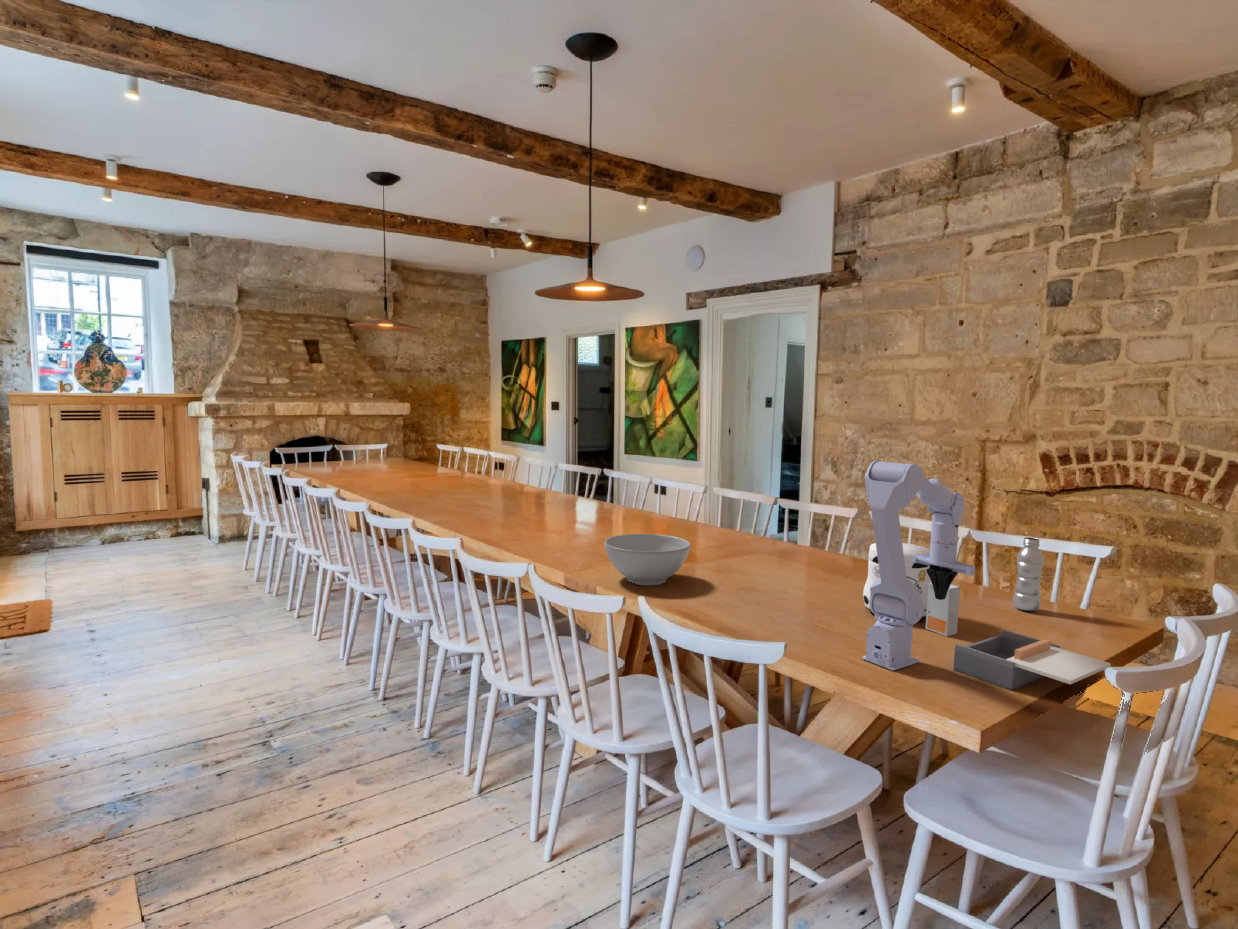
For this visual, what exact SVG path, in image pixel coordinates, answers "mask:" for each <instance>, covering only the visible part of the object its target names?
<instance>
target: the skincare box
mask: <svg viewBox="0 0 1238 929" xmlns="http://www.w3.org/2000/svg"><path fill="white" fill-rule="evenodd" d="M960 593H961V587H960V586H958V585H954V584H951V585H950V587H949V589H948V592H947V595H946V598H945V599H942V600H939V599H936V598H935V593H934V589H933V585H932V582H931V583H929V586H928V600H927V614H926V617H925V630H928V631H931V632H933V633H936V634H939V635H941V636H944V637H950V636H954V635H957V633H958V622H959V619H958V618H959V606H960Z"/></svg>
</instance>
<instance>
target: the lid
mask: <svg viewBox="0 0 1238 929" xmlns="http://www.w3.org/2000/svg"><path fill="white" fill-rule="evenodd" d="M1040 640H1041V641H1038V642H1035V643H1032V644H1029V645H1027V646H1024V647H1021V648H1018V649H1015V654H1014V656H1013V657H1011V658H1008V659H1006V660H1009V661H1012V662H1015V666H1016V667H1019V668H1022V669H1025V670H1028V671H1031V672H1034V673H1037V674H1040V675H1043V676H1046V677H1048V678H1050V679H1053V680H1056V681H1059V682H1061V683H1064V684H1068V685H1073V684H1074V683H1077V682H1079V681H1081V680H1084V679H1086V678H1088V677H1091V676H1093V675H1095V674H1098V673H1099V672H1102V671H1104V670H1107V669H1109V668H1111V666H1112V665H1111V664H1112V663H1110V662H1108V661H1104V660H1101V659H1097V658H1094V657H1090V656H1087V655H1084V654H1080V653H1077V652H1073V651H1070V650H1066V649H1063V648H1061V647H1060V648H1056V647H1053V646H1050V644H1051V641H1052V640H1050V639H1046V638H1045V639H1040Z"/></svg>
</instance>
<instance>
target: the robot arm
mask: <svg viewBox="0 0 1238 929" xmlns="http://www.w3.org/2000/svg"><path fill="white" fill-rule="evenodd" d="M863 479H864V483H865V491H866V499H867V502H868V503H869V504H870V511H871V519H872V527H873V534H874V541H875V543H876V549H877V557H878V564H879V571H880V579H878V580H876V581H875V582H874V583H873V584H872V586H871V587H870V600H869V605H870V609H871V611H872V613H873V614H874V619H876V622H875V623H874V624H873V625H872V626H870V627H869V628H868V630H867V632H866V644H865V649H866V650H865V655H863V656H862V657H861V658H862V660H865V661H867V662H870V663H873V664H876V665H878V666H880V667H883V668H886V669H888V670H890V671H896V670H900V669H902V668H905V667H908V666H912V665H915V664H918V663H920V659H918V658H916V657H913V656H912V644H913V630H914V625H915V624H917V623H919V621H920V620H921V619H922V618H921V617H922V614H923V609H924V605H923V601H922V599H921V597H920V595H919V589H918V587H917V586H915V585H914V584H913V583H912V582H911V581H910V580H909V579H908V578H907V577H906V569H905V561H904V553H903V545H902V543H903V538H902V530H901V523H900V515H899V511H900V510H902V509H906V508H907V507H909V506H910V504H911V503H912V501H913V499H914V497H915V496H916V497H917V498H918V500H919V501H920V502H921V503H923V504H924V505H926V507H927V511H928V513H929V514H932V516H931V528H930V529H931V532H930V544H929V545H930V547H929V549H930V556H926V555H920V554H914V555H912V562H913V563H920V564H924V565H929V566H930V567H929V568H928V569H926V572H927V574H928V575H929V577H930V580H931V583H932V585H933V589H934V593H935V598H936V599H939V600H942V599H945V598H946V595H947V592H948V589H949V587H950V585H952V583H953V581H954V579H955V578H956V577H957V575H958V574H959V573H960V574H964V575H966V576H969V577H971V576H974V575H976V574H975V573H976V566H974V565H970V564H967V563H965V562H961V561H958V560H957V558H958V543H959V542H958V540H959V525H960V524H962V520H963V518H962V517H963V514H964V511H965V509H966V502H965V501H966V500H965V497H964V496H963V495H962V494H961V493H959V492H956V491H955V492H954V491H951V490H950V489H949V487H948V486H946V485H944V484H942V483H941V480H940V479H939V478H933V477H932V478H931V479H930V478H929V479H928V478H927V477H926V476H925V475H924V473H923V467H921V466H919V465H918V464H917V463H901V462H888V461H881V460H878V459H877V460H873V461H872V462H870V464H869V466H868V467H867V469H866V472H865V474H864V478H863ZM871 611H870V612H871ZM920 618H921V619H920Z"/></svg>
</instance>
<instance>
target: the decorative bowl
mask: <svg viewBox="0 0 1238 929" xmlns="http://www.w3.org/2000/svg"><path fill="white" fill-rule="evenodd" d="M603 544H604V550H605V553H606V555H607V557H608V559H609V561H610V562H611V565H613V567H614V568H615V569H616V571H617V572H618V573H620V574H621V575H622V576H623V577H625V578H626V581H627V580H628V581H629V583H630V582H632V583H631V584H633V583H635V584H634V585H637V584H638V586H639V585H640V586H658V585H662V583H663V584H664V583H666V582H667V579H668V578H669V577H672V576H673V575H674V574H676V573H677V572H678V571H679V570H680V568H681V567H682V566H683V565H684V563H685V561H686V559H687V558H688V555H689V552H690V551H691V542H690V541H689V540H687V539H685V538H683V537H682V538H681V537H678V536H672V535H669V534H659V533H658V534H657V533H628V534H620V535H614V536H611V537H608V538H606V539H605V540H604V542H603ZM628 581H627V582H628Z"/></svg>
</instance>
